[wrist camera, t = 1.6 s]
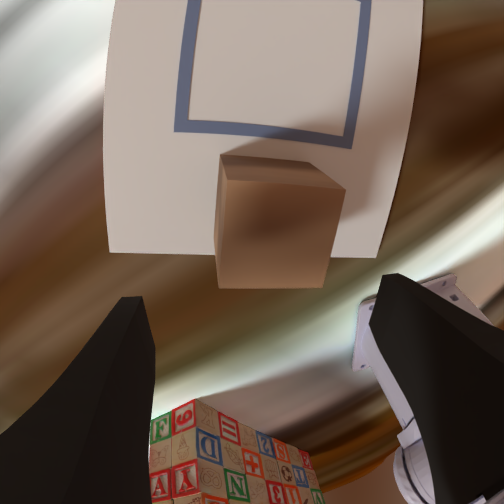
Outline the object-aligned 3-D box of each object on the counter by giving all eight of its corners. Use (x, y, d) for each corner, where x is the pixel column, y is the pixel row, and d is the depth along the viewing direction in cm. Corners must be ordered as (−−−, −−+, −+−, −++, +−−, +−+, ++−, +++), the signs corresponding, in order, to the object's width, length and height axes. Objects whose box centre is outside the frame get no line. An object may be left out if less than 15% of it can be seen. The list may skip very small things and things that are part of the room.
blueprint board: (150, -110, 6) (149, -116, 5) (416, -56, 9) (422, -59, 8) (112, 247, 16) (109, 252, 16) (371, 253, 19) (376, 258, 19)
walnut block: (219, 154, 14) (227, 179, 10) (308, 162, 15) (346, 189, 11) (213, 238, 16) (218, 288, 13) (294, 240, 17) (322, 287, 13)
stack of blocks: (309, 450, 34) (333, 528, 24) (271, 466, 36) (288, 541, 25) (193, 396, 24) (205, 531, 14) (148, 418, 25) (147, 536, 15)
